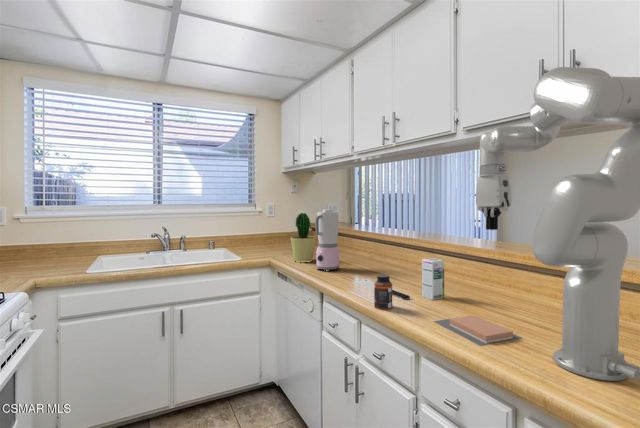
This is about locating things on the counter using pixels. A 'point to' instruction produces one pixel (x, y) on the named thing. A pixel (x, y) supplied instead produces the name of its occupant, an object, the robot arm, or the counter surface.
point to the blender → (327, 240)
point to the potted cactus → (303, 240)
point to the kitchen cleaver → (370, 285)
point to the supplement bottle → (383, 293)
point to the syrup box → (433, 278)
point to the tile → (481, 328)
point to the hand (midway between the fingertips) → (491, 229)
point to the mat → (447, 325)
